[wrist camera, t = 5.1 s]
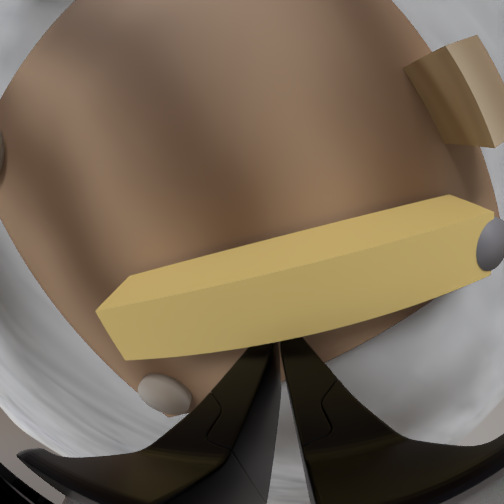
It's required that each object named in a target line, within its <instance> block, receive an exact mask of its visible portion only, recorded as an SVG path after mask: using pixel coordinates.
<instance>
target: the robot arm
mask: <svg viewBox="0 0 504 504" xmlns="http://www.w3.org/2000/svg"><path fill="white" fill-rule="evenodd" d="M280 352H281V358H282V363H283V368H284V373H285V378H286V383H287V389H288V394H289V399H290V404H291V409H292V413H293V418H294V423H295V428H296V433H297V438H298V443H299V448H300V453H301V458H302V463H303V468H304V473H305V478H306V483H307V488H308V493H309V498H310V503H311V504H504V434H503V435H501V436H500V437H498V438H496V439H495V440H493V441H491V442H488V443H486V444H482V445H477V446H456V445H446V444H438V443H430V442H423V441H417V440H412V439H409V438H406V437H404V436H402V435H400V434H398V433H397V432H396V431H394V430H393V429H392V428H390V427H389V426H388V425H387V424H385V423H384V422H383V421H382V420H380V419H379V418H378V417H377V416H376V415H374V414H373V413H372V412H371V411H369V410H368V409H367V408H366V407H365V406H364V405H362V404H361V403H360V402H359V401H358V400H357V399H356V398H355V397H354V396H353V395H352V394H351V393H350V392H349V391H348V390H347V389H346V388H345V387H344V385H343V384H342V383H341V382H340V381H339V380H338V378H337V377H336V376H335V375H334V374H333V373H332V371H331V370H330V369H329V368H328V367H327V365H326V364H325V363H324V362H323V361H322V360H321V358H320V357H319V356H318V355H317V354H316V352H315V351H314V350H313V349H312V348H311V346H310V345H309V344H308V343H307V342H306V340H305V339H304V338H303V337H298V338H294V339H289V340H284V341H280ZM280 399H281V371H280V353H279V346H278V342H274V343H269V344H263V345H258V346H252V347H248V348H247V349H246V351H245V352H244V353H243V354H242V355H241V357H240V358H239V359H238V360H237V361H236V363H235V364H234V365H233V366H232V367H231V368H230V370H229V371H228V372H227V373H226V374H225V375H224V377H223V378H222V379H221V380H220V381H219V382H218V383H217V385H216V386H215V387H214V388H213V389H212V390H211V392H210V393H208V395H207V396H206V397H205V398H204V399H203V400H202V401H201V402H200V403H199V404H198V405H197V406H196V407H195V408H194V409H193V410H192V411H191V412H190V413H189V414H188V415H187V416H186V417H185V418H183V419H182V420H181V421H180V422H179V423H178V424H176V425H175V426H174V427H173V428H172V429H170V430H169V431H168V432H167V433H165V434H164V435H163V436H162V437H160V438H159V439H158V440H157V441H155V442H154V443H153V444H151V445H150V446H148V447H147V448H145V449H143V450H140V451H137V452H134V453H128V454H120V455H111V456H99V457H83V458H69V457H62V456H57V455H55V454H52V453H50V452H48V451H47V450H45V449H41V448H38V449H27V450H23V451H21V452H19V453H18V454H17V457H18V458H19V459H20V460H21V461H22V462H23V463H24V464H25V465H26V466H27V467H28V468H30V469H31V470H32V471H33V472H34V473H36V474H37V475H38V476H39V477H41V478H42V479H43V480H44V481H46V482H47V483H49V484H50V485H51V486H52V487H54V488H55V489H57V490H58V491H59V492H61V493H62V494H64V495H65V499H64V501H63V503H62V504H266V503H267V498H268V492H269V486H270V479H271V472H272V465H273V458H274V450H275V442H276V434H277V426H278V417H279V408H280ZM0 504H54V503H52V502H51V501H49V500H48V499H46V498H45V497H43V496H42V495H40V494H39V493H38V492H36V491H35V490H33V489H32V488H31V487H29V486H28V485H27V484H25V483H24V482H23V481H22V480H20V479H19V478H18V477H16V476H15V475H14V474H13V473H12V472H11V471H9V470H8V469H7V468H6V467H5V466H4V465H2V464H1V463H0Z"/></svg>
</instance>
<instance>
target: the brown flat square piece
mask: <svg viewBox="0 0 504 504" xmlns="http://www.w3.org/2000/svg"><path fill="white" fill-rule="evenodd" d="M502 142H504V83H503V81H502V79H501V77H500V75H499V73H498V71H497V69H496V67H495V65H494V63H493V61H492V59H491V57H490V56H489V54H488V52H487V50H486V49H485V47H484V45H483V44H482V42H481V40H480V39H479V37H478V36H477V35H475V36H472V37H469V38H466V39H463V40H460V41H457V42H455V43H452V44H449V45H446V46H444V47H442V48H440V49H438V50H436V51H434V52H431V50H430V49H429V47H428V46H427V44H426V43H425V41H424V40H423V39H422V37H421V36H420V34H419V33H418V32H417V30H416V29H415V28H414V26H413V25H412V24H411V23H410V21H409V20H408V19H407V18H406V16H405V15H404V14H403V13H402V12H401V11H400V9H399V8H398V7H397V6H396V5H395V4H394V3H393V1H392V0H75V1H74V2H73V3H72V4H71V5H70V6H69V7H68V8H67V9H66V10H65V11H64V12H63V13H62V14H61V15H60V16H59V17H58V19H57V20H56V21H55V22H54V23H53V24H52V25H51V27H50V28H49V29H48V30H47V31H46V32H45V34H44V35H43V36H42V37H41V39H40V40H39V41H38V42H37V44H36V45H35V46H34V48H33V49H32V50H31V52H30V53H29V55H28V56H27V57H26V59H25V60H24V62H23V63H22V65H21V66H20V68H19V69H18V71H17V72H16V74H15V75H14V77H13V79H12V80H11V82H10V83H9V85H8V87H7V89H6V90H5V92H4V94H3V96H2V97H1V99H0V218H1V220H2V222H3V224H4V226H5V228H6V230H7V232H8V234H9V236H10V238H11V239H12V241H13V243H14V245H15V247H16V248H17V250H18V252H19V253H20V255H21V257H22V258H23V260H24V262H25V263H26V265H27V266H28V268H29V269H30V271H31V273H32V274H33V276H34V277H35V279H36V280H37V281H38V283H39V284H40V286H41V287H42V289H43V290H44V291H45V293H46V294H47V296H48V297H49V298H50V300H51V301H52V302H53V304H54V305H55V306H56V308H57V309H58V310H59V311H60V313H61V314H62V315H63V316H64V318H65V319H66V320H67V321H68V322H69V324H70V325H71V326H72V327H73V328H74V330H75V331H76V332H77V333H78V334H79V335H80V336H81V338H82V339H83V340H84V341H85V342H86V343H87V344H88V345H89V346H90V347H91V349H92V350H93V351H94V352H95V353H96V354H97V355H98V356H99V357H100V358H101V359H102V360H103V361H104V362H105V363H106V364H107V365H108V366H109V367H110V368H111V369H112V370H113V371H114V372H115V373H116V374H117V375H119V376H120V377H121V378H122V379H123V380H124V381H125V382H126V383H127V384H128V385H129V386H131V387H132V388H133V389H134V390H135V391H136V392H137V393H139V396H140V397H141V399H142V400H143V401H144V402H145V403H146V404H148V405H149V406H150V407H152V408H154V409H156V410H158V411H160V412H162V413H163V414H165V415H166V416H167V417H173V416H177V415H181V414H185V413H189V412H191V411H192V410H193V409H194V408H195V407H196V406H197V405H198V404H199V403H200V402H201V401H202V400H203V399H204V398H205V397H206V396H207V395H208V393H210V392H211V390H212V389H213V388H214V387H215V386H216V385H217V383H218V382H219V381H220V380H221V379H222V378H223V377H224V375H225V374H226V373H227V372H228V371H229V370H230V368H231V367H232V366H233V365H234V364H235V363H236V361H237V360H238V359H239V358H240V357H241V355H242V354H243V353H244V352H245V351H246V349H247V348H248V347H246V348H240V349H233V350H227V351H220V352H213V353H205V354H197V355H188V356H179V357H168V358H156V359H142V360H125V359H124V358H123V356H122V355H121V353H120V352H119V350H118V349H117V347H116V345H115V344H114V342H113V341H112V339H111V337H110V336H109V334H108V332H107V331H106V329H105V327H104V326H103V324H102V322H101V321H100V319H99V317H98V315H97V314H96V312H95V311H96V310H97V309H98V307H99V306H100V305H101V304H102V303H103V302H104V301H105V300H106V299H107V298H108V297H109V296H110V295H111V294H112V293H113V292H114V291H115V290H116V289H117V288H118V287H119V286H120V285H121V284H122V283H123V282H124V281H125V280H126V279H127V278H128V277H129V276H131V275H135V274H138V273H142V272H146V271H149V270H153V269H157V268H161V267H164V266H168V265H172V264H176V263H179V262H183V261H187V260H191V259H195V258H198V257H202V256H206V255H210V254H214V253H217V252H221V251H225V250H229V249H233V248H237V247H240V246H244V245H248V244H252V243H256V242H260V241H264V240H268V239H271V238H275V237H279V236H283V235H287V234H291V233H295V232H299V231H303V230H307V229H311V228H315V227H319V226H322V225H326V224H330V223H334V222H338V221H342V220H346V219H350V218H354V217H358V216H362V215H367V214H371V213H375V212H379V211H383V210H387V209H391V208H395V207H399V206H403V205H407V204H411V203H415V202H420V201H424V200H428V199H432V198H436V197H440V196H445V195H449V194H450V195H453V196H455V197H458V198H461V199H463V200H466V201H469V202H471V203H474V204H476V205H479V206H481V207H483V208H486V209H488V210H491V211H493V212H494V216H495V217H497V218H499V219H500V217H499V212H498V207H497V203H496V198H495V194H494V190H493V187H492V183H491V179H490V176H489V173H488V169H487V166H486V163H485V160H484V157H483V154H482V151H481V149H480V147H489V148H496V147H497V146H499V145H500V144H501V143H502ZM433 299H435V298H433ZM433 299H431V300H428V301H425V302H422V303H419V304H417V305H414V306H411V307H408V308H405V309H402V310H399V311H396V312H392V313H389V314H386V315H383V316H380V317H376V318H373V319H369V320H366V321H362V322H359V323H355V324H352V325H348V326H344V327H340V328H336V329H332V330H328V331H324V332H320V333H316V334H312V335H307V336H303V338H304V339H305V340H306V342H307V343H308V344H309V345H310V346H311V348H312V349H313V350H314V351H315V352H316V354H317V355H318V356H319V357H320V358H321V360H322V361H323V362H324V363H325V362H327V361H329V360H331V359H333V358H335V357H337V356H339V355H341V354H343V353H345V352H347V351H349V350H351V349H353V348H355V347H357V346H358V345H360V344H362V343H364V342H366V341H368V340H369V339H371V338H373V337H375V336H377V335H378V334H380V333H382V332H383V331H385V330H387V329H388V328H390V327H392V326H393V325H395V324H397V323H398V322H400V321H402V320H403V319H405V318H406V317H408V316H409V315H411V314H413V313H414V312H416V311H417V310H419V309H420V308H422V307H423V306H425V305H426V304H428V303H429V302H430V301H432V300H433ZM278 346H279V353H280V371H281V382H282V381H284V380H286V378H285V373H284V368H283V363H282V358H281V352H280V341H279V342H278Z"/></svg>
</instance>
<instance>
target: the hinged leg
mask: <svg viewBox="0 0 504 504" xmlns="http://www.w3.org/2000/svg"><path fill="white" fill-rule="evenodd" d="M503 258H504V221H503V220H501V219H499V218H497V217H495V216H494V212H493V211H491V210H488V209H486V208H483V207H481V206H479V205H476V204H474V203H471V202H469V201H466V200H463V199H461V198H458V197H455V196H453V195H450V194H449V195H445V196H440V197H436V198H432V199H428V200H424V201H420V202H415V203H411V204H407V205H403V206H399V207H395V208H391V209H387V210H383V211H379V212H375V213H371V214H367V215H362V216H358V217H354V218H350V219H346V220H342V221H338V222H334V223H330V224H326V225H322V226H319V227H315V228H311V229H307V230H303V231H299V232H295V233H291V234H287V235H283V236H279V237H275V238H271V239H268V240H264V241H260V242H256V243H252V244H248V245H244V246H240V247H237V248H233V249H229V250H225V251H221V252H217V253H214V254H210V255H206V256H202V257H198V258H195V259H191V260H187V261H183V262H179V263H176V264H172V265H168V266H164V267H161V268H157V269H153V270H149V271H146V272H142V273H138V274H135V275H131V276H129V277H128V278H127V279H126V280H125V281H124V282H123V283H122V284H121V285H120V286H119V287H118V288H117V289H116V290H115V291H114V292H113V293H112V294H111V295H110V296H109V297H108V298H107V299H106V300H105V301H104V302H103V303H102V304H101V305H100V306H99V307H98V309H97V310H96V311H95V312H96V314H97V315H98V317H99V319H100V321H101V322H102V324H103V326H104V327H105V329H106V331H107V332H108V334H109V336H110V337H111V339H112V341H113V342H114V344H115V345H116V347H117V349H118V350H119V352H120V353H121V355H122V356H123V358H124V359H125V360H142V359H156V358H168V357H179V356H188V355H197V354H205V353H213V352H220V351H227V350H233V349H240V348H246V347H252V346H258V345H263V344H269V343H274V342H279V341H284V340H289V339H294V338H298V337H303V336H307V335H312V334H316V333H320V332H324V331H328V330H332V329H336V328H340V327H344V326H348V325H352V324H355V323H359V322H362V321H366V320H369V319H373V318H376V317H380V316H383V315H386V314H389V313H392V312H396V311H399V310H402V309H405V308H408V307H411V306H414V305H417V304H419V303H422V302H425V301H428V300H431V299H433V298H436V297H439V296H441V295H444V294H447V293H449V292H452V291H454V290H457V289H459V288H462V287H464V286H466V285H469V284H471V283H474V282H476V281H478V280H480V279H483V278H485V277H487V276H489V275H491V270H493V269H495V268H496V267H497V266H498V265H499V264H500V263H501V261H502V260H503Z"/></svg>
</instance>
